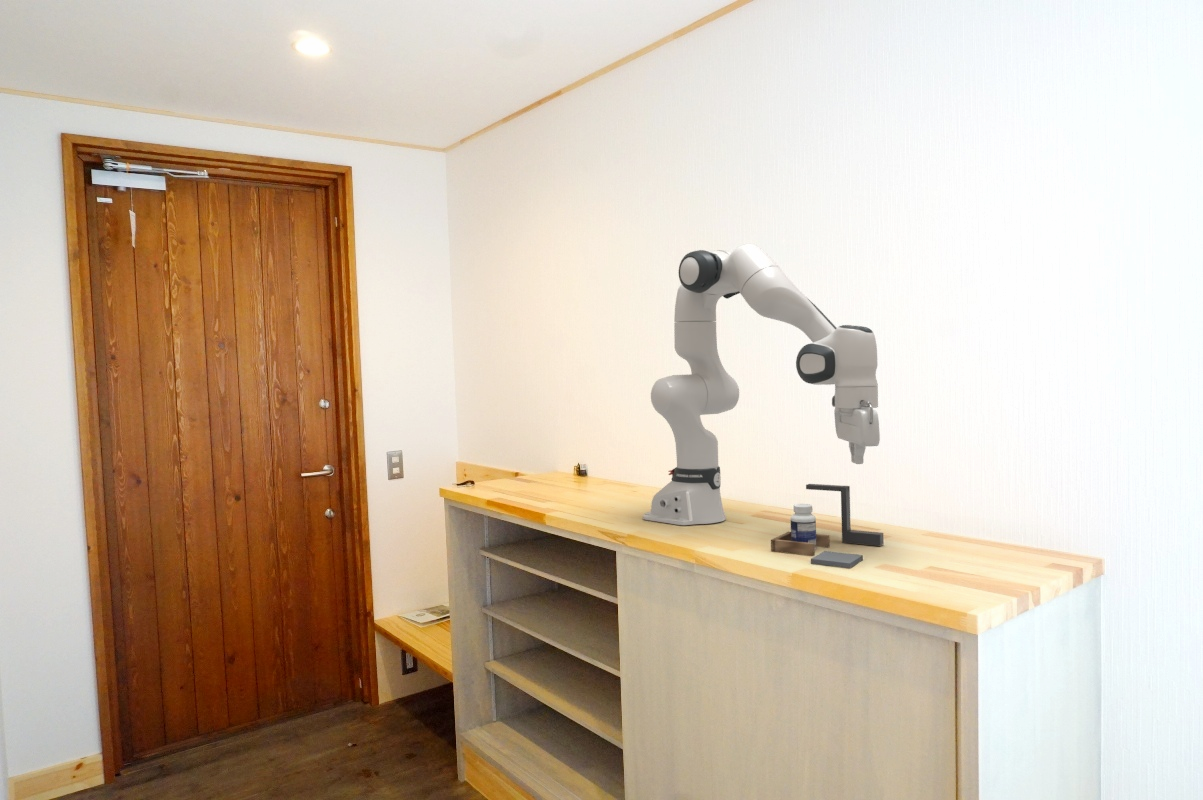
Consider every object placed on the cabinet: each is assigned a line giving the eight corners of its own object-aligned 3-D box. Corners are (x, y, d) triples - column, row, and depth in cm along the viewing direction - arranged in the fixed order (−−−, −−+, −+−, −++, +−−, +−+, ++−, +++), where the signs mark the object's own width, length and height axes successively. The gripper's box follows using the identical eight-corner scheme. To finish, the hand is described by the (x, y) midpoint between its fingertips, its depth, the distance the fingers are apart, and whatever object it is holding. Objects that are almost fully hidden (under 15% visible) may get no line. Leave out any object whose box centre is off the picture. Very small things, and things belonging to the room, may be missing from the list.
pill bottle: (790, 546, 175) (789, 503, 174) (815, 546, 174) (814, 503, 173) (792, 552, 169) (791, 507, 169) (817, 552, 168) (816, 507, 168)
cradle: (771, 551, 171) (770, 539, 171) (788, 542, 179) (788, 531, 179) (813, 556, 165) (812, 544, 165) (829, 546, 173) (829, 535, 173)
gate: (806, 538, 181) (805, 485, 181) (810, 536, 183) (809, 483, 183) (880, 546, 171) (879, 489, 171) (883, 543, 173) (882, 487, 173)
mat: (810, 563, 159) (810, 558, 159) (824, 555, 165) (824, 550, 165) (850, 568, 154) (850, 563, 154) (863, 559, 160) (862, 555, 160)
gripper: (887, 401, 159) (888, 469, 159) (857, 397, 179) (858, 457, 180) (855, 402, 159) (856, 470, 159) (829, 398, 179) (830, 458, 180)
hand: (857, 463), depth 170 cm, fingers closed
